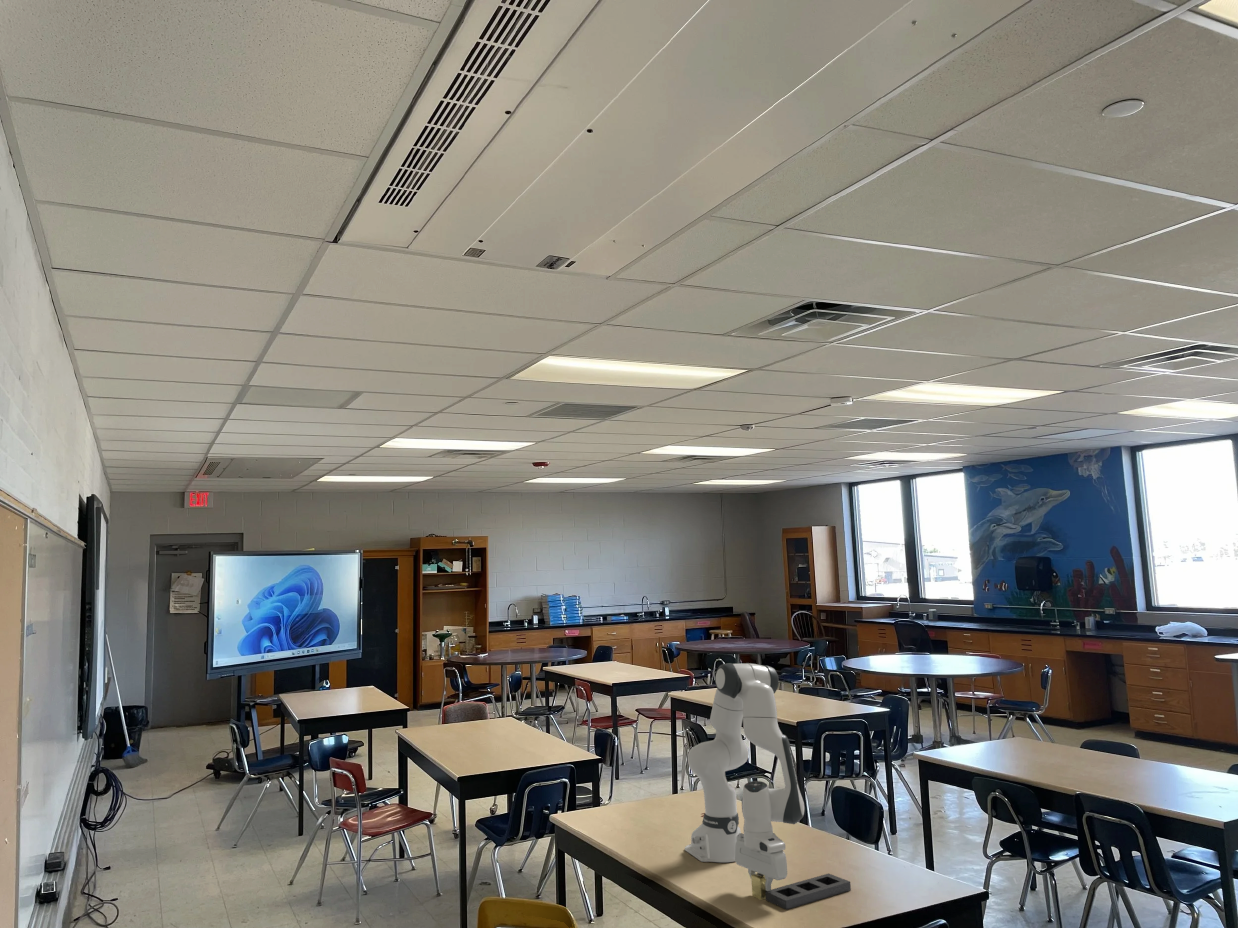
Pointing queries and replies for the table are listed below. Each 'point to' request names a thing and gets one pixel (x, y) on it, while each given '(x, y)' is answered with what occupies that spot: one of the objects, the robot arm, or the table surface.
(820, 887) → the grey flat slotted block
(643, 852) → the table surface
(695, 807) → the table surface
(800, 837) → the table surface
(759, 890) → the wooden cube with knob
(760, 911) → the table surface
